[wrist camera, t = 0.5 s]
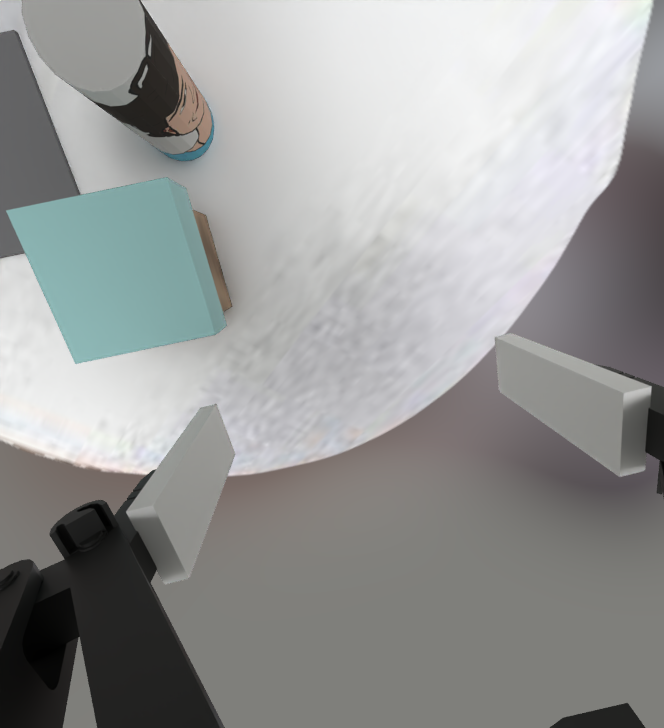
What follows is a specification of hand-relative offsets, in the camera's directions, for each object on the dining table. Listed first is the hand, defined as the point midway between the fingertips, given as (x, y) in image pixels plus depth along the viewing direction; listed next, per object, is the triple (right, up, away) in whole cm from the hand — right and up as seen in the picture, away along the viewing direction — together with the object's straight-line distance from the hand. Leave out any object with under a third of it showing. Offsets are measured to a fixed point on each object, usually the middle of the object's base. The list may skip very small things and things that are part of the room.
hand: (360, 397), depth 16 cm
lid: (-18, +10, +16) cm, 26 cm away
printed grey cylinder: (-17, +26, +18) cm, 36 cm away
